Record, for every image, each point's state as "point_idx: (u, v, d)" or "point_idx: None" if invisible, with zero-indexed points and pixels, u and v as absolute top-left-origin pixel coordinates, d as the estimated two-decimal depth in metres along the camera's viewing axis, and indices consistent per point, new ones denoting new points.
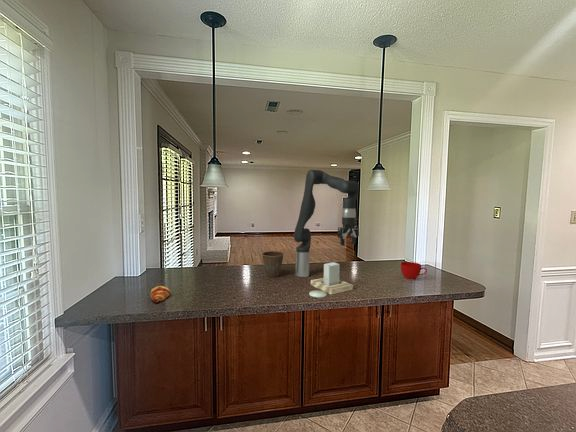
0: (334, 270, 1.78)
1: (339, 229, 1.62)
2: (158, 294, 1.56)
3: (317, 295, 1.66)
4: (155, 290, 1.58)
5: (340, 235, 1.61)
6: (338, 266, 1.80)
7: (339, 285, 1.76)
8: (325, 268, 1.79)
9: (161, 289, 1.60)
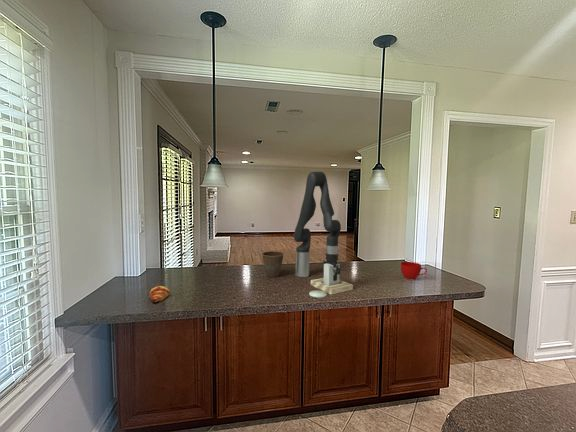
0: None
1: (339, 267, 1.75)
2: (157, 294, 1.56)
3: (317, 295, 1.66)
4: (154, 290, 1.59)
5: (339, 272, 1.76)
6: None
7: (339, 285, 1.76)
8: (325, 268, 1.79)
9: (160, 289, 1.60)
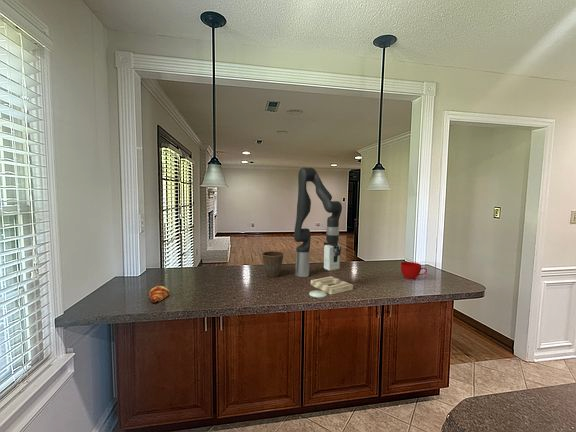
0: None
1: (339, 248, 1.74)
2: (156, 294, 1.56)
3: (317, 295, 1.66)
4: (154, 290, 1.59)
5: None
6: None
7: (339, 285, 1.76)
8: (326, 249, 1.78)
9: (160, 289, 1.60)
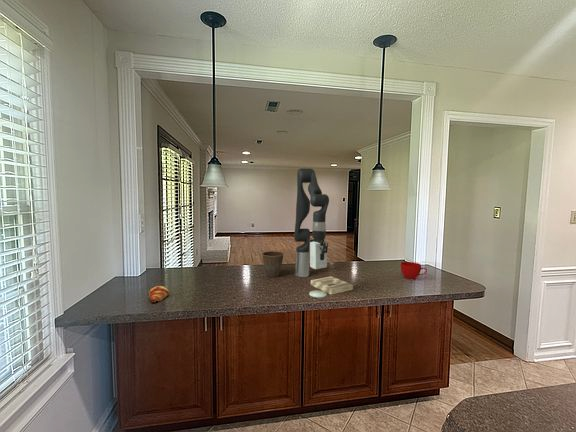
0: None
1: (326, 245, 1.61)
2: (156, 294, 1.56)
3: (317, 295, 1.66)
4: (153, 290, 1.59)
5: None
6: None
7: (339, 285, 1.76)
8: (312, 246, 1.65)
9: (159, 289, 1.60)
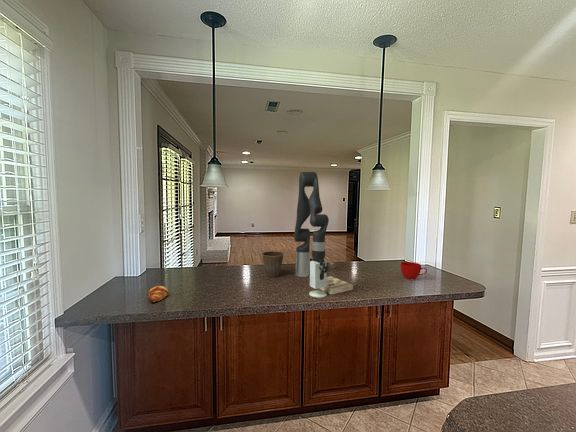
0: None
1: (325, 265, 1.62)
2: (155, 294, 1.56)
3: (317, 295, 1.66)
4: (153, 290, 1.59)
5: (326, 270, 1.63)
6: None
7: (339, 285, 1.76)
8: (311, 266, 1.66)
9: (159, 289, 1.60)
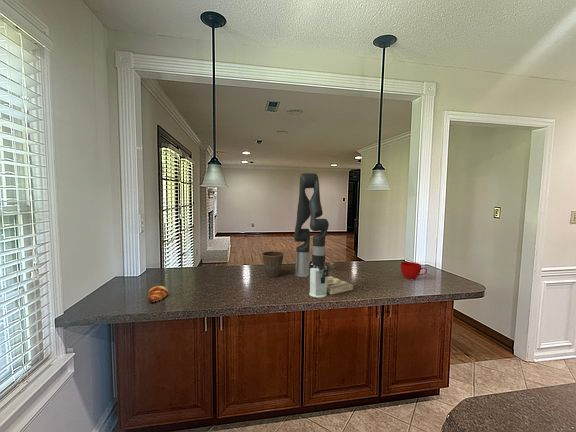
0: None
1: (326, 268, 1.62)
2: (155, 294, 1.56)
3: (317, 295, 1.66)
4: (152, 290, 1.59)
5: (327, 273, 1.62)
6: None
7: (339, 285, 1.76)
8: (312, 273, 1.66)
9: (158, 289, 1.60)
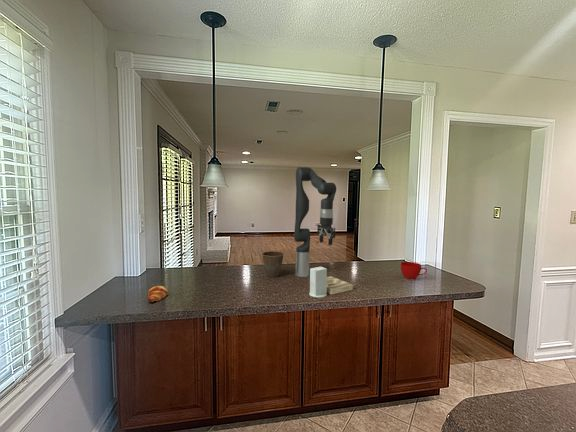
0: (321, 275, 1.65)
1: (333, 230, 1.68)
2: (154, 294, 1.56)
3: (317, 295, 1.66)
4: (152, 290, 1.59)
5: None
6: (325, 271, 1.67)
7: (339, 285, 1.76)
8: (312, 273, 1.66)
9: (158, 289, 1.60)
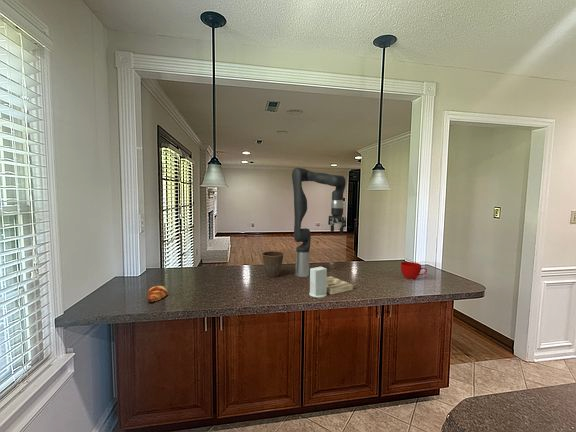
0: (321, 275, 1.65)
1: (344, 219, 1.80)
2: (154, 294, 1.56)
3: (317, 295, 1.66)
4: (152, 290, 1.59)
5: None
6: (325, 271, 1.67)
7: (339, 285, 1.76)
8: (312, 273, 1.66)
9: (158, 289, 1.60)
